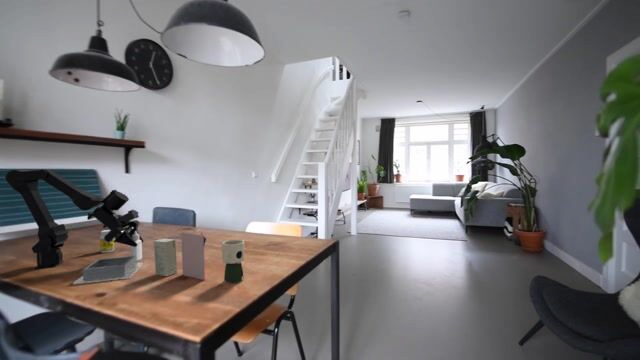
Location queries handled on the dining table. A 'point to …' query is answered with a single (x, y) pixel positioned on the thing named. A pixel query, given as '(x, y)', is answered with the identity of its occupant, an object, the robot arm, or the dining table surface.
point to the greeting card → (193, 255)
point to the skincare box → (165, 257)
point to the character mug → (233, 259)
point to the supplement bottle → (104, 245)
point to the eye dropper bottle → (138, 249)
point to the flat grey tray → (109, 270)
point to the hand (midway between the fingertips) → (139, 244)
